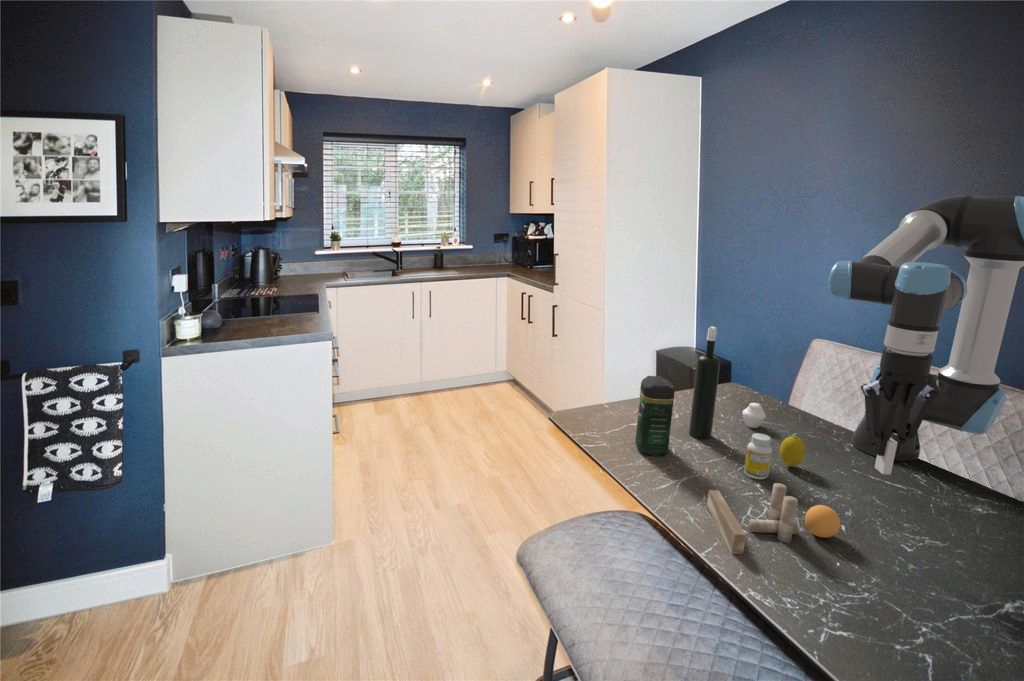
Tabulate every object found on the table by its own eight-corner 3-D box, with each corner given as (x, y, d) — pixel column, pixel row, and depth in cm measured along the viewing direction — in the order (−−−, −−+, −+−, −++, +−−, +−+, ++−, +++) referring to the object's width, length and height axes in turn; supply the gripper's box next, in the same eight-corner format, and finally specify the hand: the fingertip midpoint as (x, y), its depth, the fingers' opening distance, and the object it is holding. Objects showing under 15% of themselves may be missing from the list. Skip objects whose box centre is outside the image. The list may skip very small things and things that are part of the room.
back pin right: (777, 521, 118) (783, 483, 116) (782, 528, 116) (788, 489, 114) (765, 521, 118) (771, 482, 116) (770, 527, 116) (776, 488, 114)
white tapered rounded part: (761, 423, 169) (765, 400, 167) (766, 431, 163) (769, 407, 161) (739, 420, 170) (742, 398, 168) (742, 429, 164) (746, 405, 162)
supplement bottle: (763, 482, 134) (769, 443, 131) (740, 474, 137) (745, 436, 135) (771, 474, 138) (777, 436, 135) (748, 467, 141) (753, 430, 139)
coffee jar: (671, 457, 145) (679, 386, 140) (639, 456, 145) (645, 385, 140) (663, 441, 154) (670, 373, 150) (632, 439, 154) (638, 372, 150)
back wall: (716, 507, 122) (718, 490, 121) (742, 554, 107) (745, 534, 106) (706, 507, 122) (708, 490, 121) (731, 553, 107) (734, 534, 106)
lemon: (805, 473, 139) (810, 442, 137) (780, 470, 140) (785, 439, 138) (799, 462, 144) (804, 432, 142) (775, 460, 145) (779, 430, 143)
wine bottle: (685, 430, 161) (697, 324, 154) (705, 430, 162) (718, 324, 154) (693, 439, 156) (706, 329, 148) (714, 439, 157) (728, 329, 149)
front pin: (794, 518, 115) (749, 516, 115) (799, 526, 112) (754, 524, 113) (791, 528, 116) (747, 526, 116) (796, 536, 113) (752, 534, 114)
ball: (794, 508, 116) (807, 530, 117) (808, 525, 110) (822, 549, 111) (822, 493, 115) (835, 517, 116) (838, 510, 109) (851, 534, 110)
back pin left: (787, 535, 113) (794, 496, 111) (793, 543, 111) (800, 502, 109) (775, 535, 113) (781, 495, 111) (780, 542, 111) (787, 502, 109)
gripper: (882, 354, 101) (858, 479, 107) (959, 357, 101) (930, 482, 107) (859, 343, 108) (837, 460, 114) (931, 346, 108) (905, 463, 114)
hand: (882, 470), depth 110 cm, fingers closed
